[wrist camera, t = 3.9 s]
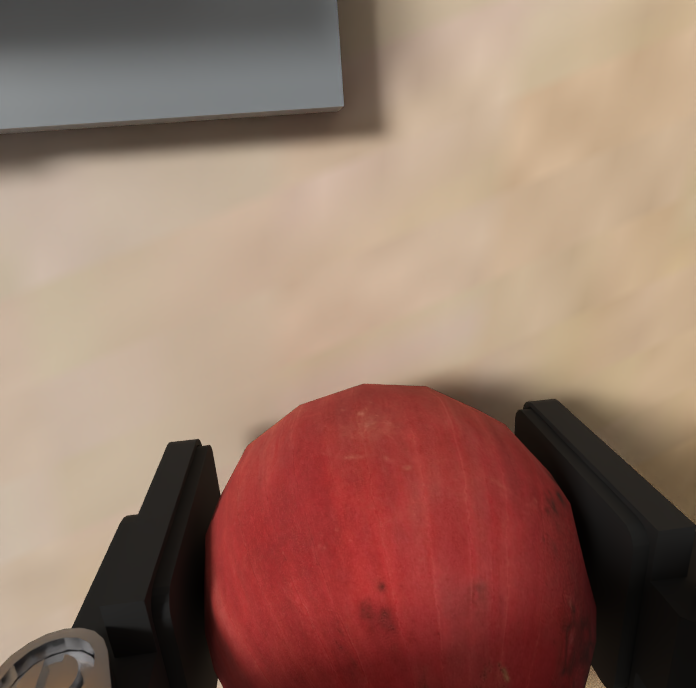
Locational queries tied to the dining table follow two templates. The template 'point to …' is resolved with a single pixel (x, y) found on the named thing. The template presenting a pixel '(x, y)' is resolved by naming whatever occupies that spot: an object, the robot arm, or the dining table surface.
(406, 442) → the onion
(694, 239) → the dining table surface
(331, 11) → the tray
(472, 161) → the dining table surface
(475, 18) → the dining table surface
